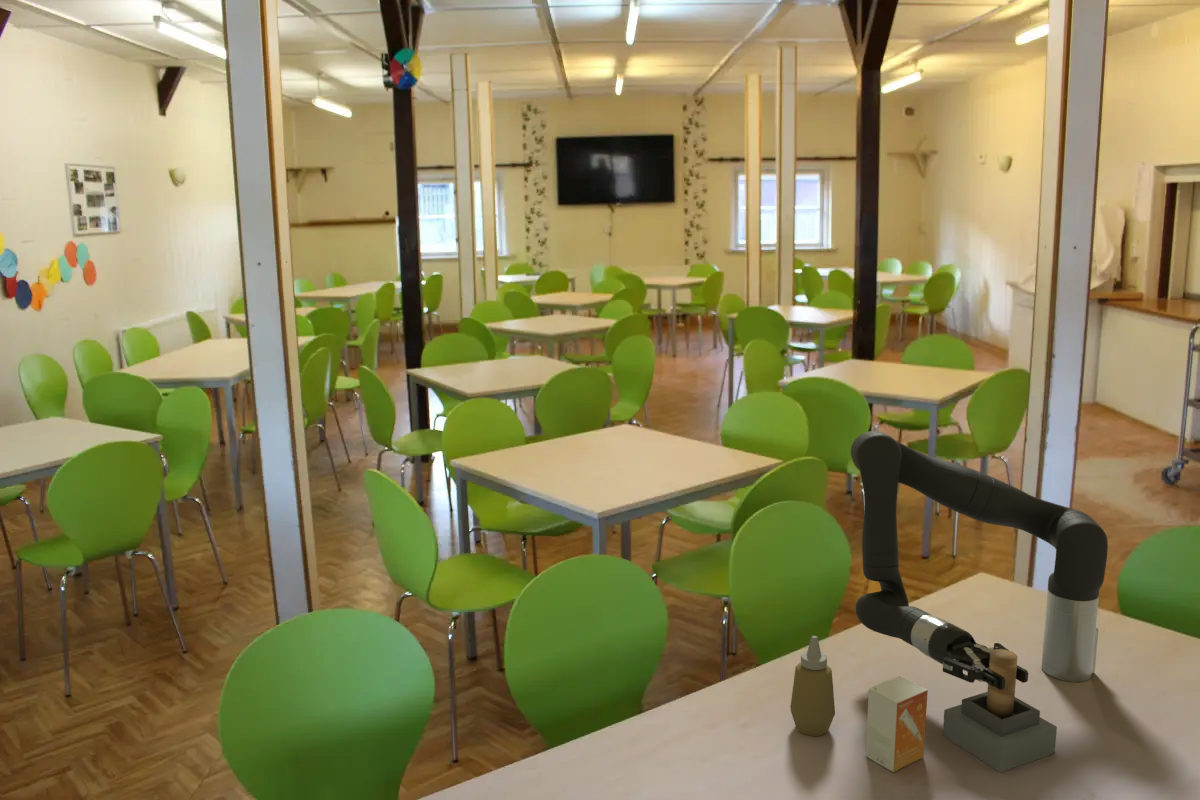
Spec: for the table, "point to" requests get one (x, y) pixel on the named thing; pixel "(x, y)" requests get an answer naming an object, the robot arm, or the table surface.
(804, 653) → the squeeze bottle
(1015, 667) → the cardboard roll
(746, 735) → the table surface
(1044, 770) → the table surface
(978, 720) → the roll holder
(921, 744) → the small box
